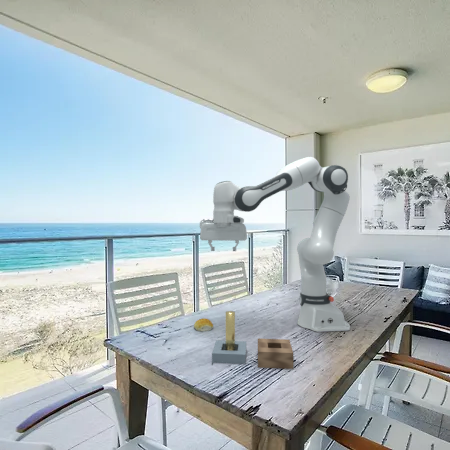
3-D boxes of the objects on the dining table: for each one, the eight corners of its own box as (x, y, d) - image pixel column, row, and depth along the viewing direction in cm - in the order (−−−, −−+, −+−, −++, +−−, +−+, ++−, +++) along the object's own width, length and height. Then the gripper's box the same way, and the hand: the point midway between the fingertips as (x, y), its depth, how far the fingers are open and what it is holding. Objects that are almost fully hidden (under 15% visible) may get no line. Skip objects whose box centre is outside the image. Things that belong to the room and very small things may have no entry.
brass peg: (235, 356, 109) (235, 311, 109) (234, 360, 106) (234, 313, 106) (226, 356, 110) (226, 310, 109) (225, 360, 107) (225, 313, 106)
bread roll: (210, 324, 144) (210, 315, 144) (214, 331, 135) (214, 321, 135) (192, 325, 142) (192, 316, 142) (195, 332, 133) (195, 323, 133)
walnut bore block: (289, 356, 109) (289, 339, 109) (293, 372, 98) (293, 353, 98) (257, 355, 110) (257, 338, 110) (257, 370, 100) (258, 351, 99)
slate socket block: (246, 352, 113) (246, 341, 113) (245, 366, 102) (245, 354, 102) (216, 351, 114) (216, 340, 114) (211, 365, 103) (211, 353, 103)
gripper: (198, 219, 133) (198, 251, 133) (246, 219, 131) (246, 252, 131) (200, 219, 139) (201, 250, 140) (247, 218, 137) (247, 250, 138)
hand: (223, 251), depth 136 cm, fingers open, 8 cm apart
